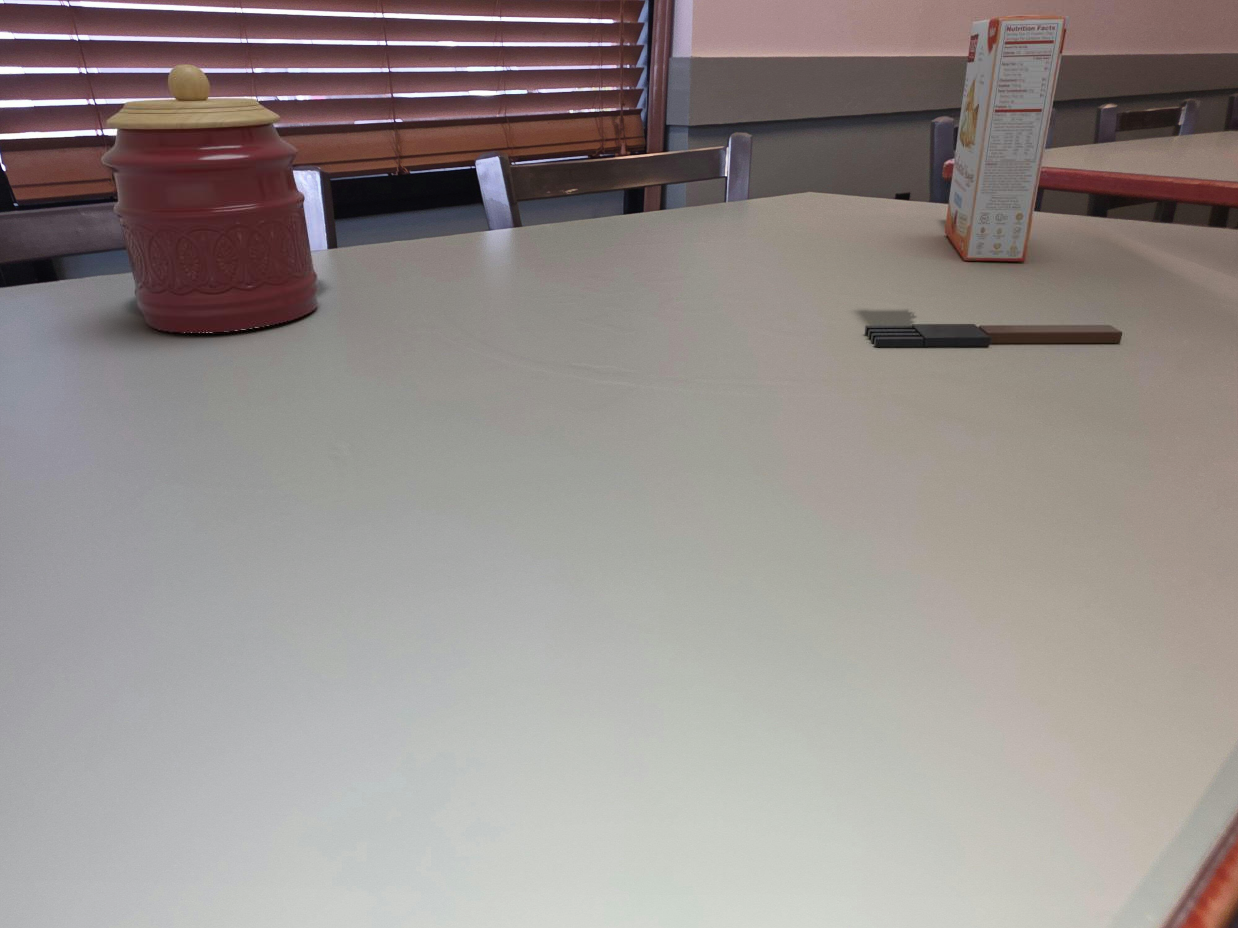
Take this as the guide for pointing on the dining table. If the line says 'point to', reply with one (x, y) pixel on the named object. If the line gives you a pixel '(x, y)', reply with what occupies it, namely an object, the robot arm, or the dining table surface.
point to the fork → (987, 334)
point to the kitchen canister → (210, 211)
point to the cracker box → (1003, 134)
